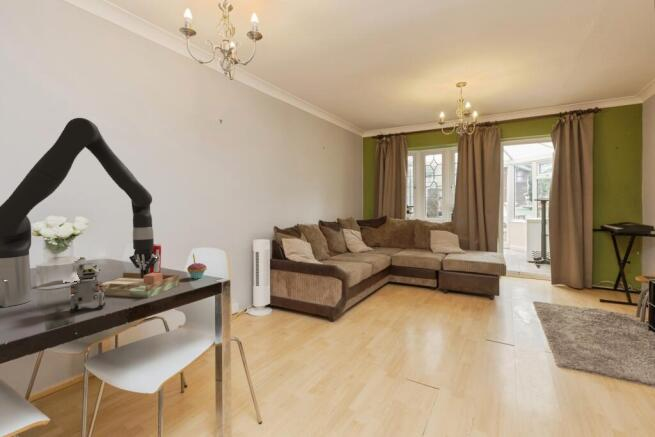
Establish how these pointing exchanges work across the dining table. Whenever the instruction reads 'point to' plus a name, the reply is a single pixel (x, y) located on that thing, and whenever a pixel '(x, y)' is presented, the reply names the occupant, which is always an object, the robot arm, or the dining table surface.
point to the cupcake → (196, 269)
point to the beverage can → (157, 265)
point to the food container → (81, 262)
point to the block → (153, 278)
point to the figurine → (87, 287)
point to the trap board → (138, 285)
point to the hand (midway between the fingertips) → (144, 277)
